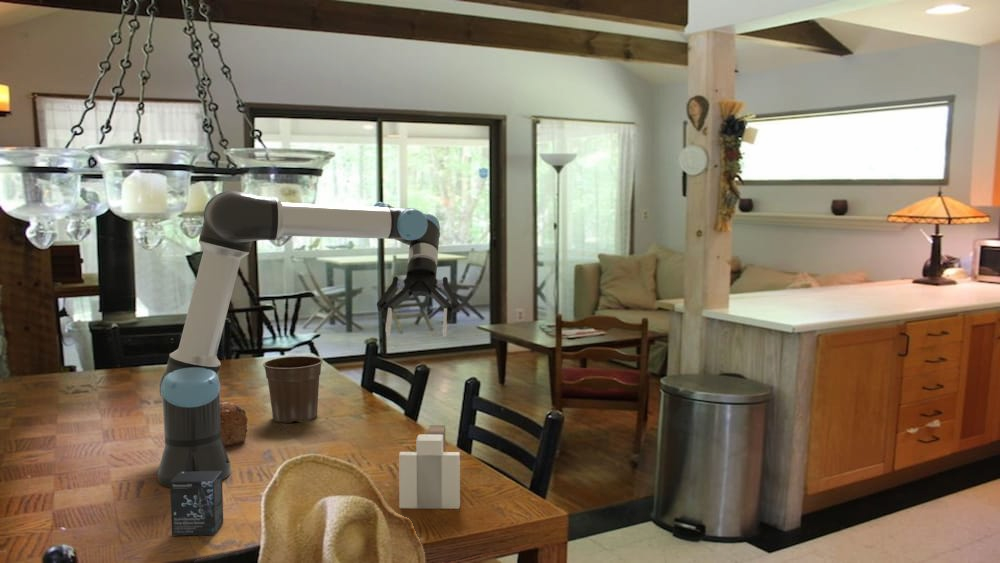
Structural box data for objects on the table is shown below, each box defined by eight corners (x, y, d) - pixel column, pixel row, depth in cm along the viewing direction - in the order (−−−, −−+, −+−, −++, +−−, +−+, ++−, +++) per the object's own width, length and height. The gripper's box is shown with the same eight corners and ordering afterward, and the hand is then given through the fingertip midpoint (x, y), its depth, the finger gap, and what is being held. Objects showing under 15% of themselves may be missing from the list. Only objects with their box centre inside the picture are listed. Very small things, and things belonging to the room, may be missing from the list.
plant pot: (252, 422, 213) (250, 364, 212) (288, 407, 228) (286, 353, 227) (301, 428, 208) (299, 369, 206) (335, 413, 222) (334, 358, 221)
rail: (440, 499, 159) (439, 448, 158) (422, 499, 159) (421, 448, 158) (446, 472, 175) (445, 425, 174) (429, 472, 175) (429, 425, 174)
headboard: (459, 508, 155) (459, 440, 153) (399, 508, 155) (398, 440, 153) (461, 493, 163) (461, 428, 161) (404, 493, 163) (404, 428, 161)
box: (171, 537, 141) (169, 481, 140) (182, 524, 147) (180, 470, 146) (215, 536, 142) (213, 480, 141) (224, 523, 147) (222, 469, 146)
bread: (249, 442, 197) (247, 403, 196) (208, 451, 189) (206, 411, 188) (217, 426, 210) (216, 390, 209) (178, 434, 203) (176, 397, 202)
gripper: (471, 274, 201) (468, 342, 187) (375, 274, 201) (366, 341, 188) (470, 255, 195) (467, 324, 181) (371, 255, 195) (361, 323, 182)
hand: (416, 333), depth 184 cm, fingers open, 13 cm apart
